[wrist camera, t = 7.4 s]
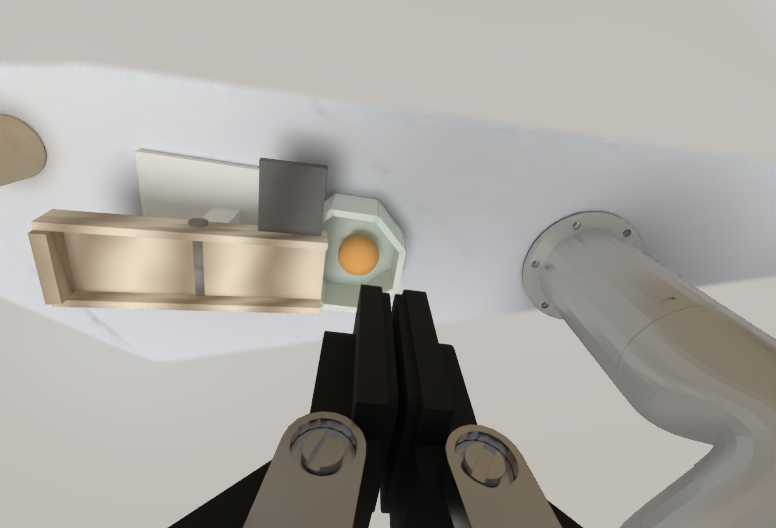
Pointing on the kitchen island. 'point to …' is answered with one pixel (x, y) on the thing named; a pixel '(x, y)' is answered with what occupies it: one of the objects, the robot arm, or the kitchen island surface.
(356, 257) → the ball
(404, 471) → the robot arm
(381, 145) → the kitchen island surface
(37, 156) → the candle
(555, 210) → the kitchen island surface
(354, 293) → the pale green bowl
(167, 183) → the lever stand
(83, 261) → the lever
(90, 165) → the kitchen island surface
